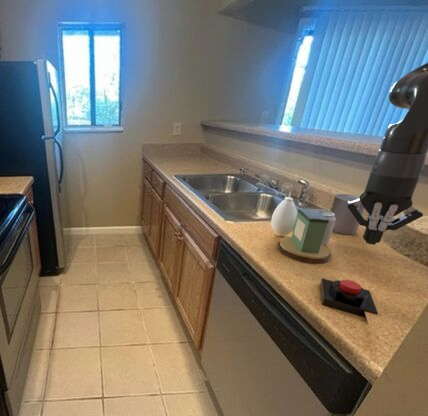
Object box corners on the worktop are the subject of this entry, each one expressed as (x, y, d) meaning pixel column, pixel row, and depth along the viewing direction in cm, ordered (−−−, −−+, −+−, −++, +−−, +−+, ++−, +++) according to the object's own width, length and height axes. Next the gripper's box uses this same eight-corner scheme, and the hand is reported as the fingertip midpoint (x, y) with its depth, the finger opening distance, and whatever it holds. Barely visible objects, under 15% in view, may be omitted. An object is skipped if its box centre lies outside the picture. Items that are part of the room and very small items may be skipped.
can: (313, 236, 105) (321, 207, 101) (333, 245, 99) (343, 214, 94) (297, 239, 104) (305, 209, 99) (317, 248, 97) (326, 217, 93)
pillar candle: (321, 223, 116) (330, 190, 110) (348, 225, 113) (359, 191, 108) (332, 233, 107) (344, 197, 102) (362, 236, 105) (375, 199, 99)
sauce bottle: (284, 230, 110) (294, 188, 104) (296, 239, 103) (308, 194, 97) (264, 230, 111) (273, 188, 104) (275, 239, 103) (286, 194, 97)
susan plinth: (327, 248, 97) (328, 244, 96) (331, 269, 85) (333, 264, 84) (278, 238, 104) (279, 234, 104) (275, 255, 93) (276, 251, 92)
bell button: (357, 288, 71) (360, 282, 70) (360, 296, 68) (362, 291, 67) (338, 283, 73) (340, 277, 72) (339, 291, 70) (341, 285, 69)
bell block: (366, 297, 73) (371, 284, 71) (374, 320, 65) (380, 307, 64) (319, 284, 78) (323, 272, 77) (322, 305, 70) (326, 292, 69)
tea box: (317, 240, 99) (326, 207, 94) (338, 261, 86) (350, 224, 82) (274, 237, 102) (281, 205, 98) (287, 256, 90) (297, 220, 85)
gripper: (432, 171, 59) (403, 243, 65) (352, 166, 66) (333, 231, 72) (447, 179, 53) (414, 257, 59) (357, 172, 60) (336, 242, 66)
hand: (369, 242), depth 66 cm, fingers closed
